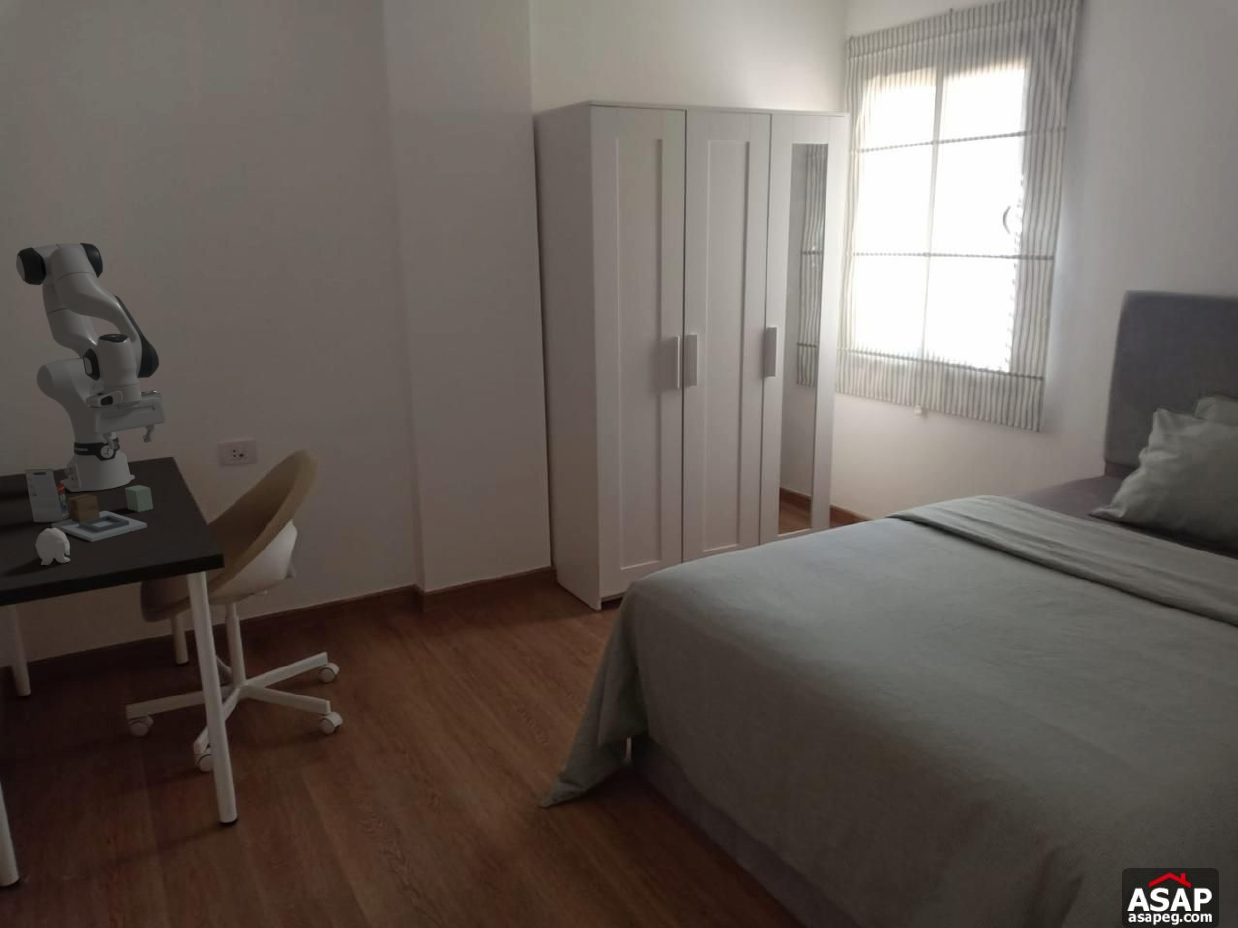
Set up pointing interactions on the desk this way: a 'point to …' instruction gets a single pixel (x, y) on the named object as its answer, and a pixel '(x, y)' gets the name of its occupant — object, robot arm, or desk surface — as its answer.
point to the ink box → (46, 497)
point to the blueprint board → (95, 520)
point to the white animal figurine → (52, 546)
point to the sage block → (139, 498)
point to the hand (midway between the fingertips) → (131, 445)
